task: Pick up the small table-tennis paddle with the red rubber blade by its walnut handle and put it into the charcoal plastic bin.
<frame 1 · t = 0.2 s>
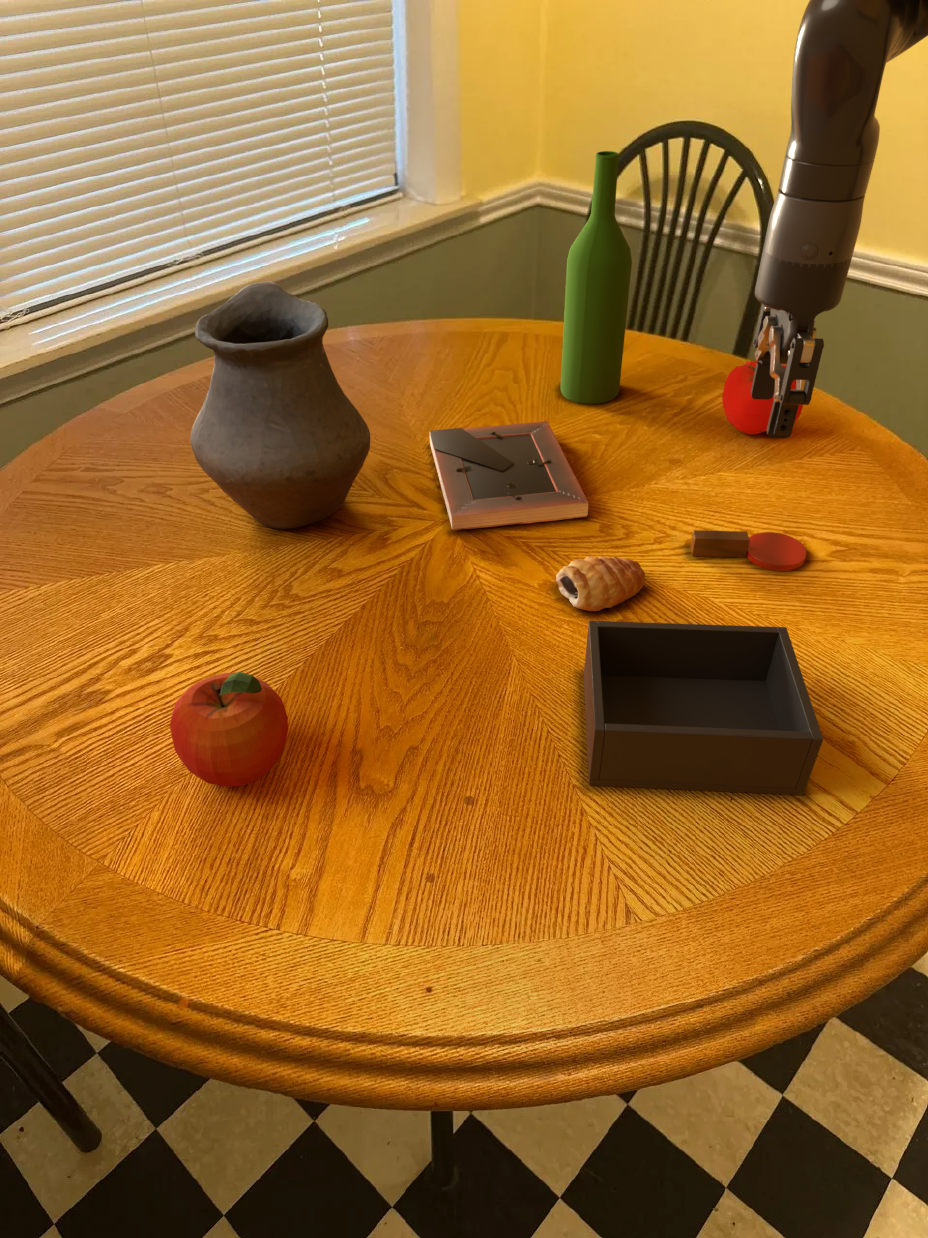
hand: (769, 416, 86), 17 cm above the table, tool pointing down, fingers open, 8 cm apart
grey clay vase: (293, 505, 108), on the table
fruit: (240, 763, 75), on the table
pastry: (596, 593, 93), on the table
tomato: (756, 428, 121), on the table
wine bottle: (589, 392, 131), on the table
bin: (685, 730, 77), on the table
picture frame: (503, 481, 111), on the table
paddle: (717, 552, 98), on the table
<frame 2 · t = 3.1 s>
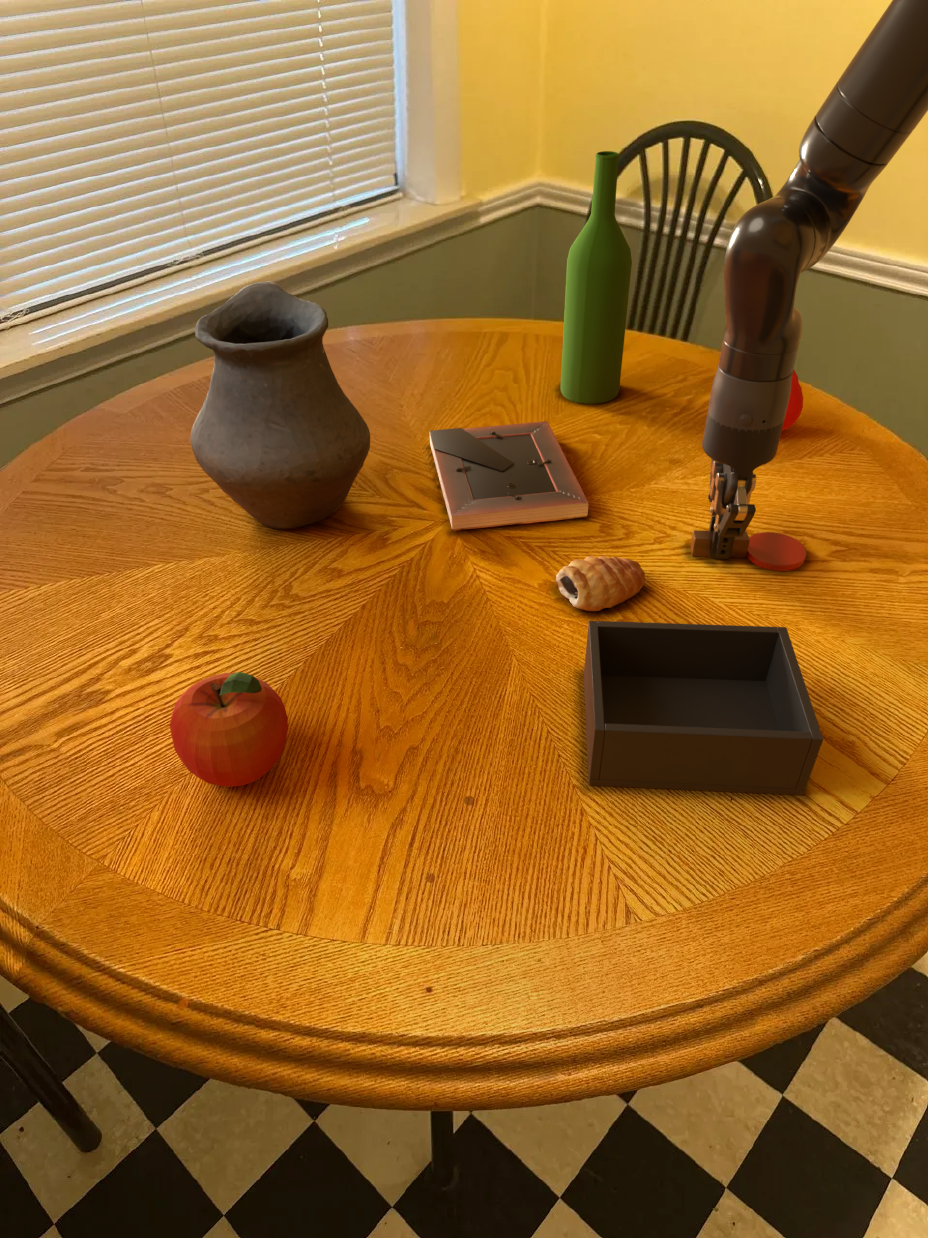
hand: (717, 550, 98), 0 cm above the table, tool pointing down, fingers closed on paddle, 2 cm apart
paddle: (717, 552, 98), on the table, touching gripper
everything else where it was.
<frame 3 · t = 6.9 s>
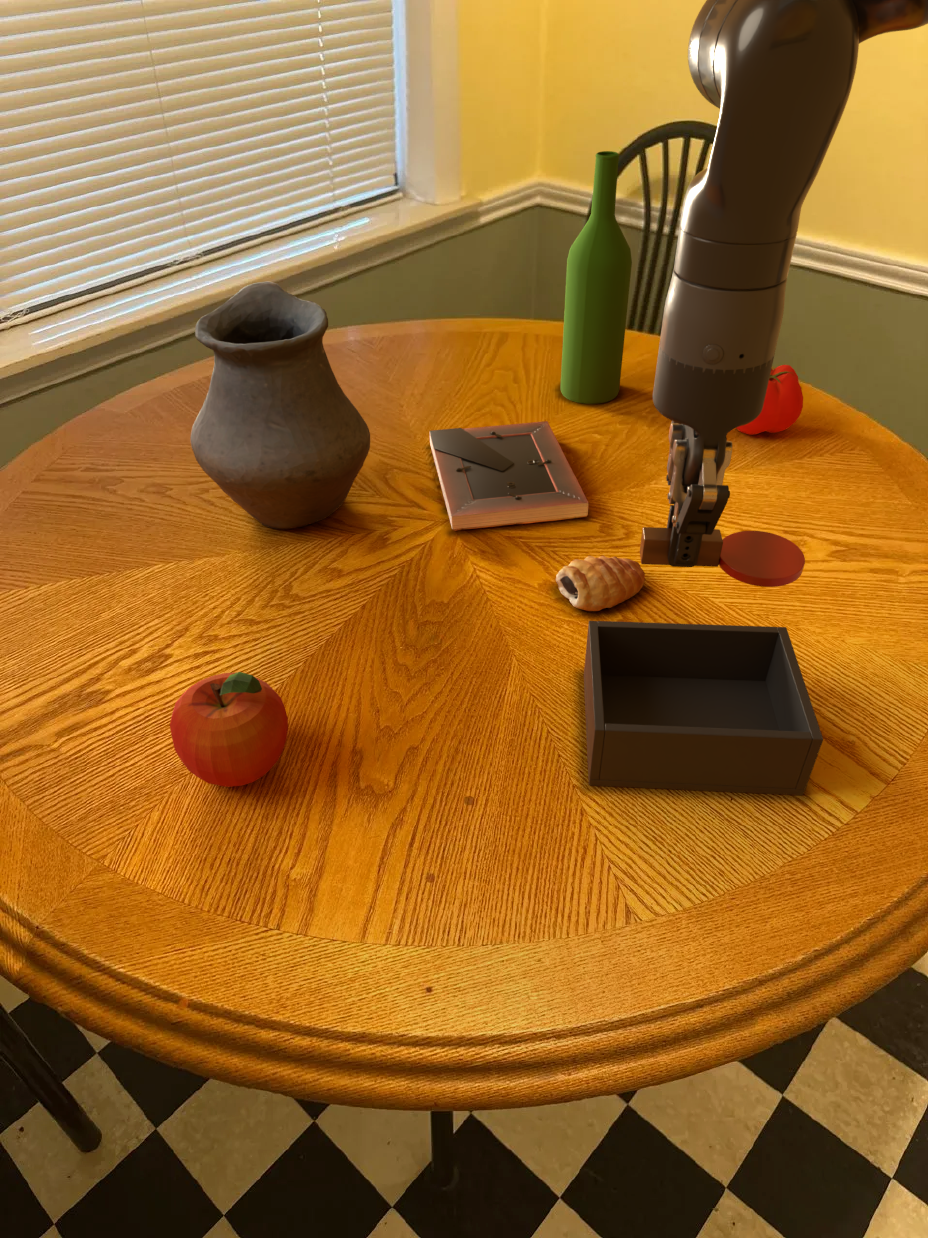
hand: (679, 554, 68), 17 cm above the table, tool pointing down, fingers closed on paddle
paddle: (678, 559, 69), point 17 cm above the table, touching gripper
everything else where it was.
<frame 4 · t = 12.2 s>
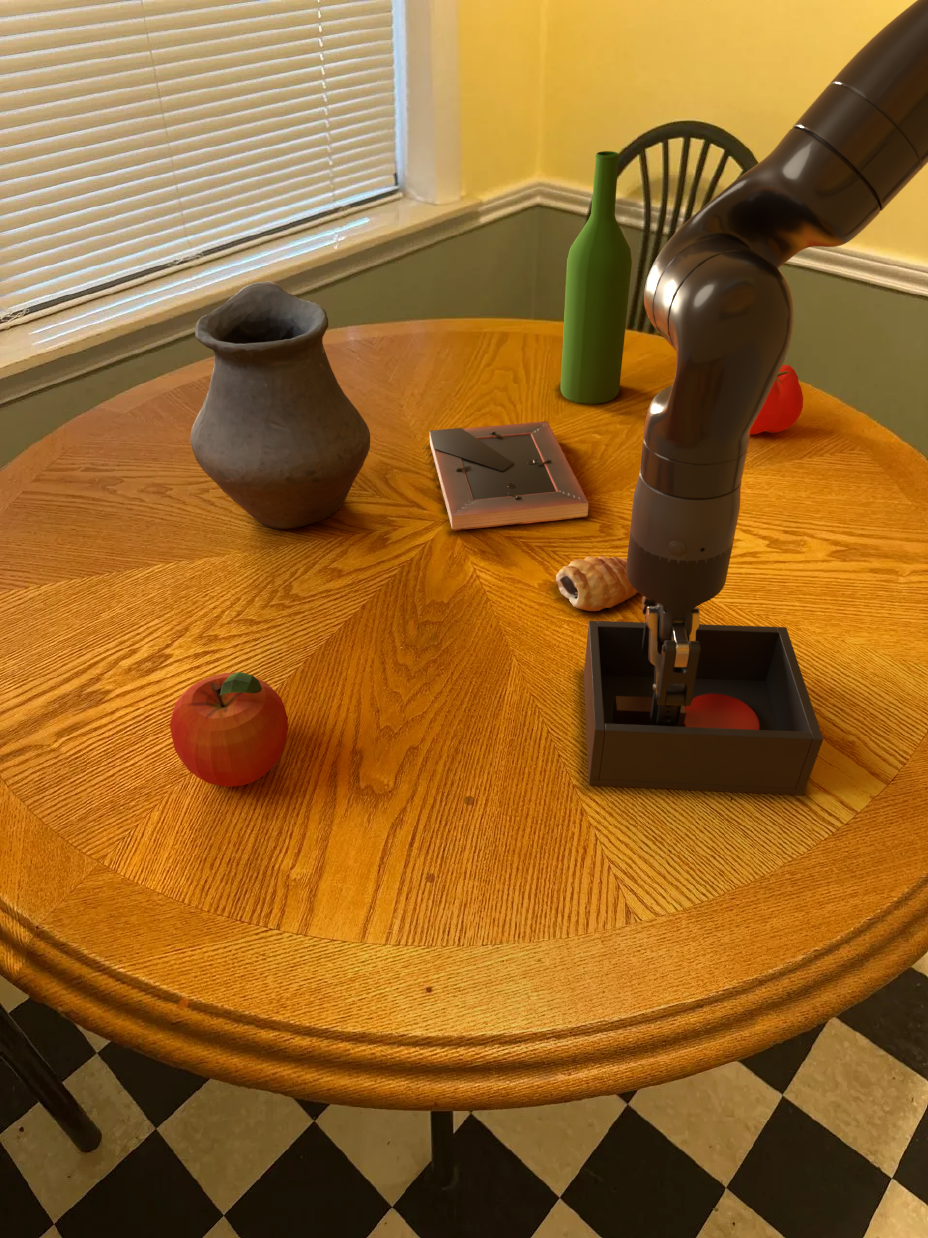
hand: (658, 686, 74), 5 cm above the table, tool pointing down, fingers open, 8 cm apart
paddle: (647, 723, 77), point 1 cm above the table, touching bin
everything else where it was.
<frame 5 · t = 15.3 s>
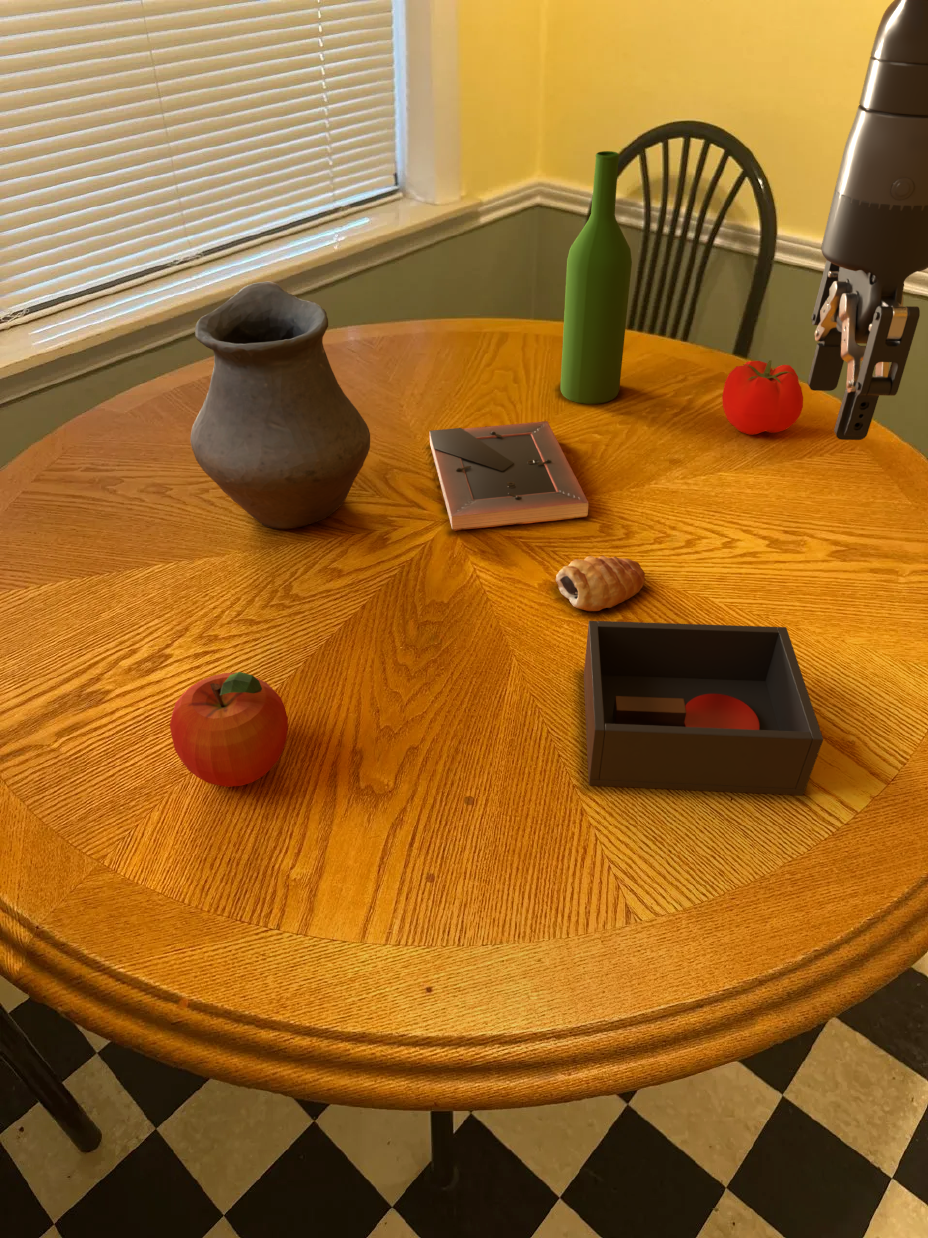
hand: (834, 411, 67), 26 cm above the table, tool pointing down, fingers open, 8 cm apart
nothing on the table moved.
at the end: paddle inside the target area in the bin (3.4 cm from its centre), point 0.8 cm above the bin's base; the gripper is holding nothing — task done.
